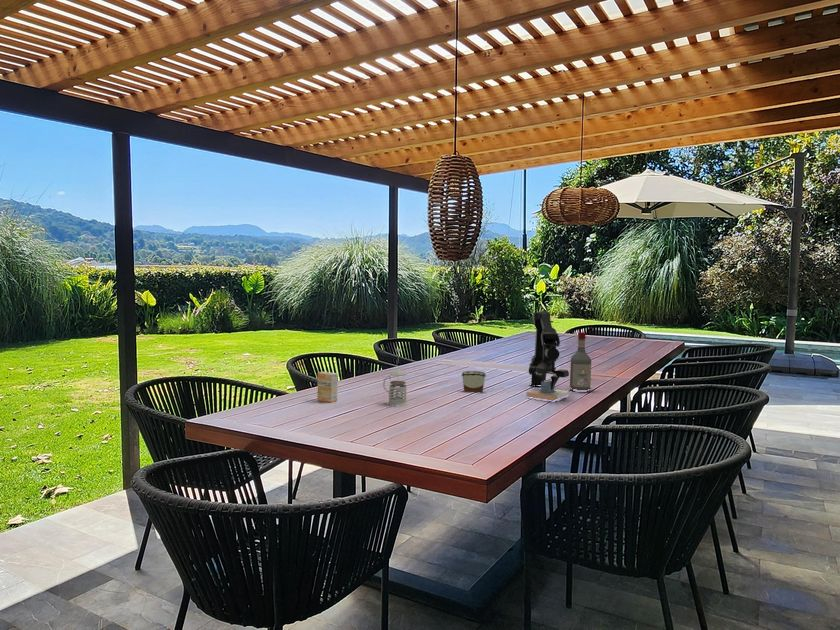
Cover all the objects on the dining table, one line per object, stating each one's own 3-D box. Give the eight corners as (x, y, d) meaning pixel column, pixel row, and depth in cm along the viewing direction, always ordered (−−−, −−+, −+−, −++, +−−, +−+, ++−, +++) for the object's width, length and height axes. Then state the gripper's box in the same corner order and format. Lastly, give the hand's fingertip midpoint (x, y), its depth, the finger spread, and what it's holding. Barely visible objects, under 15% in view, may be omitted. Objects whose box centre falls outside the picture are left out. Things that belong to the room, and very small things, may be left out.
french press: (405, 406, 261) (406, 350, 259) (380, 404, 263) (381, 349, 261) (410, 401, 271) (411, 347, 269) (386, 400, 273) (386, 346, 271)
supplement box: (316, 400, 270) (316, 372, 269) (323, 399, 274) (323, 371, 273) (331, 403, 266) (331, 374, 265) (337, 401, 270) (337, 372, 269)
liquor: (591, 392, 297) (593, 333, 295) (573, 392, 297) (575, 333, 295) (586, 389, 306) (588, 331, 304) (568, 389, 306) (570, 331, 304)
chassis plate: (542, 393, 294) (542, 387, 294) (568, 397, 285) (568, 391, 285) (526, 398, 282) (526, 392, 281) (553, 402, 273) (553, 396, 272)
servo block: (548, 389, 288) (548, 377, 287) (555, 390, 285) (556, 378, 285) (539, 392, 281) (539, 380, 280) (547, 393, 278) (547, 381, 278)
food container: (485, 390, 299) (486, 371, 298) (485, 393, 293) (486, 373, 292) (461, 389, 300) (461, 370, 299) (460, 392, 294) (461, 372, 293)
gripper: (523, 356, 282) (522, 389, 283) (559, 361, 270) (557, 394, 271) (534, 354, 290) (533, 385, 291) (569, 358, 278) (568, 391, 279)
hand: (547, 389), depth 283 cm, fingers closed on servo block, 4 cm apart
